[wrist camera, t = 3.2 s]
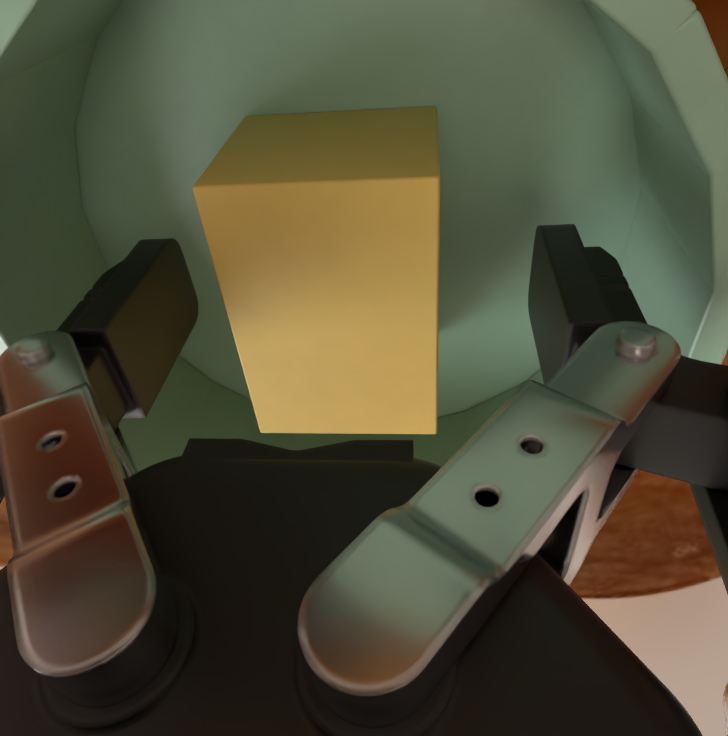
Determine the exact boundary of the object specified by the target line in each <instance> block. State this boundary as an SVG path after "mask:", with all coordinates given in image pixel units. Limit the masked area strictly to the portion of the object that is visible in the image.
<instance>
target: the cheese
mask: <svg viewBox="0 0 728 736" xmlns="http://www.w3.org/2000/svg"><path fill="white" fill-rule="evenodd" d="M193 193H194V197H195V200H196V204H197V207H198V211H199V214H200V218H201V222H202V225H203V229H204V232H205V236H206V240H207V243H208V247H209V250H210V254H211V257H212V261H213V265H214V268H215V272H216V275H217V279H218V282H219V286H220V290H221V293H222V297H223V300H224V304H225V308H226V311H227V315H228V318H229V322H230V325H231V329H232V333H233V336H234V340H235V343H236V347H237V351H238V354H239V358H240V361H241V365H242V368H243V372H244V376H245V379H246V383H247V386H248V390H249V393H250V397H251V401H252V404H253V408H254V411H255V415H256V419H257V422H258V426H259V429H260V432H261V433H339V434H436V433H437V410H438V329H439V248H440V164H439V146H438V129H437V111H436V107H434V106H427V107H409V108H391V109H373V110H354V111H336V112H318V113H299V114H281V115H263V116H246V117H244V118H243V120H242V121H241V122H240V124H239V125H238V126H237V128H236V129H235V130H234V132H233V133H232V134H231V136H230V137H229V138H228V140H227V141H226V143H225V144H224V145H223V147H222V148H221V149H220V151H219V152H218V153H217V155H216V156H215V157H214V159H213V160H212V161H211V163H210V164H209V165H208V167H207V168H206V169H205V171H204V172H203V174H202V175H201V176H200V178H199V179H198V180H197V182H196V183H195V184H194V186H193Z"/></svg>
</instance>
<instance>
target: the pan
mask: <svg viewBox="0 0 728 736" xmlns="http://www.w3.org/2000/svg"><path fill="white" fill-rule="evenodd" d="M427 106H434V107H436V111H437V129H438V146H439V164H440V248H439V329H438V410H437V433H436V434H339V433H261V432H260V429H259V426H258V422H257V419H256V415H255V411H254V408H253V404H252V401H251V397H250V393H249V390H248V386H247V383H246V379H245V376H244V372H243V368H242V365H241V361H240V358H239V354H238V351H237V347H236V343H235V340H234V336H233V333H232V329H231V325H230V322H229V318H228V315H227V311H226V308H225V304H224V300H223V297H222V293H221V290H220V286H219V282H218V279H217V275H216V272H215V268H214V265H213V261H212V257H211V254H210V250H209V247H208V243H207V240H206V236H205V232H204V229H203V225H202V222H201V218H200V214H199V211H198V207H197V204H196V200H195V197H194V193H193V186H194V184H195V183H196V182H197V180H198V179H199V178H200V176H201V175H202V174H203V172H204V171H205V169H206V168H207V167H208V165H209V164H210V163H211V161H212V160H213V159H214V157H215V156H216V155H217V153H218V152H219V151H220V149H221V148H222V147H223V145H224V144H225V143H226V141H227V140H228V138H229V137H230V136H231V134H232V133H233V132H234V130H235V129H236V128H237V126H238V125H239V124H240V122H241V121H242V120H243V118H244V117H246V116H263V115H281V114H299V113H318V112H336V111H354V110H373V109H391V108H409V107H427ZM559 224H575V226H576V228H577V230H578V233H579V235H580V238H581V240H582V243H583V245H584V247H597V246H600V247H601V248H603V249H604V250H605V251H607V252H608V253H609V254H611V255H612V256H613V257H615V258H616V259H617V261H618V263H619V265H620V268H621V270H622V272H623V276H625V278H626V280H627V282H628V284H629V288H631V291H632V293H633V295H634V297H635V299H636V301H637V303H638V305H639V307H640V309H641V312H642V314H643V316H644V318H645V320H646V322H647V324H649V325H652V326H655V327H657V328H660V329H661V330H663V331H665V332H667V333H668V334H670V335H671V336H672V337H673V338H674V339H675V340H676V341H677V343H678V344H679V346H680V349H681V355H683V356H685V357H689V358H692V359H696V360H700V361H705V362H710V363H715V364H722V362H723V360H724V357H725V355H726V353H727V350H728V77H727V75H726V73H725V70H724V68H723V65H722V63H721V61H720V58H719V56H718V53H717V51H716V49H715V46H714V44H713V41H712V39H711V37H710V34H709V32H708V29H707V27H706V25H705V22H704V20H703V17H702V15H701V13H700V12H699V11H698V10H696V5H695V3H694V2H693V1H692V0H0V356H1V354H2V353H3V352H4V351H5V350H6V349H7V348H9V347H10V346H11V345H13V344H14V343H16V342H17V341H19V340H21V339H23V338H25V337H28V336H30V335H33V334H37V333H41V332H46V331H56V330H57V329H58V328H59V327H60V325H61V324H62V323H63V322H64V320H65V319H66V318H67V317H68V316H69V314H70V313H71V312H72V311H73V309H74V308H75V307H76V306H77V305H78V303H79V302H80V301H81V300H84V299H83V297H84V296H85V295H86V294H87V292H88V291H89V290H90V289H92V286H93V285H94V284H95V283H96V281H97V280H98V279H99V278H100V277H101V275H102V274H103V273H104V272H106V271H107V270H109V269H110V268H112V267H113V266H115V265H116V264H118V263H119V262H121V261H123V260H124V259H125V258H126V257H127V255H128V254H129V253H130V251H131V250H132V249H133V248H134V246H135V245H136V244H137V243H138V242H139V241H140V240H142V239H166V238H173V239H175V240H176V241H177V242H178V243H179V245H180V247H181V249H182V252H183V255H184V258H185V261H186V264H187V267H188V270H189V273H190V276H191V279H192V282H193V285H194V288H195V292H196V295H197V299H198V318H197V321H196V323H195V325H194V327H193V329H192V331H191V333H190V335H189V337H188V339H187V340H186V342H185V344H184V346H183V348H182V350H181V352H180V354H179V356H178V358H177V360H176V361H175V363H174V365H173V367H172V369H171V371H170V373H169V375H168V377H167V379H166V381H165V382H164V384H163V386H162V388H161V390H160V392H159V394H158V396H157V398H156V400H155V402H154V403H153V405H152V407H151V409H150V411H149V413H148V415H147V417H146V418H122V419H121V421H120V423H119V425H118V426H119V427H120V429H121V431H122V433H123V435H124V437H125V440H126V442H127V445H128V447H129V450H130V452H131V454H132V457H133V459H134V462H135V464H136V466H137V469H138V471H141V470H143V469H145V468H147V467H149V466H151V465H153V464H156V463H159V462H161V461H164V460H167V459H171V458H174V457H178V456H182V454H183V452H184V450H185V447H186V445H187V443H188V440H189V438H208V439H245V440H250V441H254V442H258V443H263V444H267V445H271V446H276V447H280V448H284V449H289V450H304V449H310V448H315V447H320V446H325V445H331V444H336V443H341V442H347V441H352V440H413V446H414V458H418V459H422V460H426V461H429V462H431V463H434V464H437V465H439V466H441V467H442V466H443V465H444V464H445V463H446V462H447V461H448V460H449V459H450V458H451V457H452V456H453V455H454V454H455V453H456V452H457V451H458V450H459V449H460V448H461V447H462V446H463V445H464V444H465V443H466V442H467V441H468V440H469V439H470V438H471V437H472V436H473V435H474V434H475V433H476V432H477V431H478V430H479V429H480V427H481V426H482V425H483V424H484V423H485V422H486V421H487V420H488V419H489V418H490V417H491V416H492V415H493V414H494V413H495V412H496V411H497V410H498V409H499V408H500V407H501V406H502V405H503V404H504V403H505V402H506V401H507V400H508V399H509V398H510V397H511V396H512V395H513V394H514V393H515V392H516V391H517V390H518V389H519V387H520V386H522V385H523V384H524V383H525V382H527V381H529V380H534V381H536V382H539V383H541V384H543V385H544V382H543V377H542V373H541V368H540V364H539V359H538V355H537V350H536V345H535V341H534V336H533V332H532V327H531V323H530V318H529V311H528V290H529V281H530V272H531V264H532V255H533V247H534V238H535V232H536V228H537V226H538V225H559Z"/></svg>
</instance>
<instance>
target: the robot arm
mask: <svg viewBox="0 0 728 736" xmlns="http://www.w3.org/2000/svg"><path fill="white" fill-rule="evenodd" d="M83 299H84V300H81V301H80V302H79V303H78V305H77V306H76V307H75V308H74V309H73V311H72V312H71V313H70V314H69V316H68V317H67V318H66V319H65V320H64V322H63V323H62V324H61V325H60V327H59V328H58V329H57V330H56V331H46V332H41V333H37V334H33V335H30V336H28V337H25V338H23V339H21V340H19V341H17V342H16V343H14V344H13V345H11V346H10V347H9V348H7V349H6V350H5V351H4V352H3V353H2V354H1V356H0V503H1V501H2V500H3V498H4V496H5V500H6V506H7V512H8V519H9V525H10V531H11V538H12V544H13V557H12V558H11V559H10V560H9V562H8V564H7V566H5V567H4V568H3V569H1V570H0V736H702V734H701V732H700V731H699V729H698V727H697V726H696V724H695V723H694V721H693V719H692V718H691V716H690V715H689V714H688V712H687V711H686V710H685V708H684V707H683V706H682V704H681V703H680V702H679V701H678V699H677V698H676V697H675V696H674V695H673V694H672V693H671V692H670V691H669V689H668V688H667V687H666V686H665V685H664V684H663V683H662V682H661V681H660V680H659V679H658V678H657V677H656V676H655V675H654V674H653V673H652V672H651V671H650V670H649V669H648V668H647V666H645V664H644V663H643V662H642V661H641V660H640V659H639V658H638V657H637V656H636V655H635V654H634V653H633V652H632V651H631V650H630V649H629V648H628V647H627V646H626V645H625V644H624V643H623V642H622V640H620V639H619V638H618V636H617V635H616V634H615V633H614V632H613V631H612V630H611V629H610V628H609V627H608V626H607V625H606V624H605V623H604V622H603V621H602V620H601V619H600V618H599V617H598V616H597V614H596V613H595V612H594V611H593V610H592V609H591V608H590V607H589V606H588V605H587V604H586V603H585V602H584V601H583V600H582V599H581V598H580V597H579V596H578V595H577V594H576V593H575V592H574V591H573V590H572V588H571V587H570V586H569V585H570V583H571V582H572V580H573V579H574V577H575V575H576V574H577V572H578V570H579V568H580V567H581V565H582V563H583V561H584V559H585V557H586V555H587V552H588V550H589V548H590V546H591V544H592V542H593V540H594V538H595V537H596V535H597V534H598V532H599V530H600V529H601V528H602V526H603V525H604V523H605V522H606V520H607V519H608V517H609V516H610V514H611V513H612V511H613V510H614V508H615V507H616V505H617V504H618V502H619V501H620V499H621V498H622V496H623V495H624V494H625V492H626V491H627V489H628V488H629V486H630V485H631V483H632V482H633V480H634V479H635V477H636V476H637V474H638V473H639V471H640V470H642V471H646V472H650V473H654V474H658V475H661V476H665V477H669V478H673V479H677V480H681V481H684V482H688V483H690V486H691V489H692V491H693V494H694V497H695V500H696V503H697V506H698V509H699V512H700V515H701V518H702V521H703V524H704V527H705V529H706V532H707V535H708V538H709V541H710V544H711V547H712V550H713V553H714V556H715V559H716V562H717V565H718V567H719V570H720V573H721V576H722V579H723V582H724V585H725V588H726V591H727V594H728V366H726V365H721V364H715V363H710V362H705V361H700V360H696V359H692V358H689V357H685V356H683V355H681V349H680V346H679V344H678V343H677V341H676V340H675V339H674V338H673V337H672V336H671V335H670V334H668V333H667V332H665V331H663V330H661V329H660V328H657V327H655V326H652V325H649V324H647V322H646V320H645V318H644V316H643V314H642V312H641V309H640V307H639V305H638V303H637V301H636V299H635V297H634V295H633V293H632V291H631V288H629V284H628V282H627V280H626V278H625V276H623V272H622V270H621V268H620V265H619V263H618V261H617V259H616V258H615V257H613V256H612V255H611V254H609V253H608V252H607V251H605V250H604V249H603V248H601V247H600V246H597V247H584V245H583V243H582V240H581V238H580V235H579V233H578V230H577V228H576V226H575V224H559V225H538V226H537V228H536V232H535V238H534V247H533V255H532V264H531V272H530V281H529V290H528V311H529V318H530V323H531V327H532V332H533V336H534V341H535V345H536V350H537V355H538V359H539V364H540V368H541V373H542V377H543V382H544V385H543V384H541V383H539V382H536V381H534V380H529V381H527V382H525V383H524V384H523V385H522V386H520V387H519V389H518V390H517V391H516V392H515V393H514V394H513V395H512V396H511V397H510V398H509V399H508V400H507V401H506V402H505V403H504V404H503V405H502V406H501V407H500V408H499V409H498V410H497V411H496V412H495V413H494V414H493V415H492V416H491V417H490V418H489V419H488V420H487V421H486V422H485V423H484V424H483V425H482V426H481V427H480V429H479V430H478V431H477V432H476V433H475V434H474V435H473V436H472V437H471V438H470V439H469V440H468V441H467V442H466V443H465V444H464V445H463V446H462V447H461V448H460V449H459V450H458V451H457V452H456V453H455V454H454V455H453V456H452V457H451V458H450V459H449V460H448V461H447V462H446V463H445V464H444V465H443V466H442V467H441V466H439V465H437V464H434V463H431V462H429V461H426V460H422V459H418V458H414V446H413V440H352V441H347V442H341V443H336V444H331V445H325V446H320V447H315V448H310V449H304V450H289V449H284V448H280V447H276V446H271V445H267V444H263V443H258V442H254V441H250V440H245V439H208V438H189V440H188V443H187V445H186V447H185V450H184V452H183V454H182V456H178V457H174V458H171V459H167V460H164V461H161V462H159V463H156V464H153V465H151V466H149V467H147V468H145V469H143V470H141V471H138V469H137V466H136V464H135V462H134V459H133V457H132V454H131V452H130V450H129V447H128V445H127V442H126V440H125V437H124V435H123V433H122V431H121V429H120V427H119V426H118V425H119V423H120V421H121V419H122V418H146V417H147V415H148V413H149V411H150V409H151V407H152V405H153V403H154V402H155V400H156V398H157V396H158V394H159V392H160V390H161V388H162V386H163V384H164V382H165V381H166V379H167V377H168V375H169V373H170V371H171V369H172V367H173V365H174V363H175V361H176V360H177V358H178V356H179V354H180V352H181V350H182V348H183V346H184V344H185V342H186V340H187V339H188V337H189V335H190V333H191V331H192V329H193V327H194V325H195V323H196V321H197V318H198V299H197V295H196V292H195V288H194V285H193V282H192V279H191V276H190V273H189V270H188V267H187V264H186V261H185V258H184V255H183V252H182V249H181V247H180V245H179V243H178V242H177V241H176V240H175V239H173V238H166V239H142V240H140V241H139V242H138V243H137V244H136V245H135V246H134V248H133V249H132V250H131V251H130V253H129V254H128V255H127V257H126V258H125V259H124V260H123V261H121V262H119V263H118V264H116V265H115V266H113V267H112V268H110V269H109V270H107V271H106V272H104V273H103V274H102V275H101V277H100V278H99V279H98V280H97V281H96V283H95V284H94V285H93V286H92V289H90V290H89V291H88V292H87V294H86V295H85V296H84V297H83ZM723 706H724V714H725V721H726V735H725V736H728V683H727V685H726V687H725V691H724V695H723Z"/></svg>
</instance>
